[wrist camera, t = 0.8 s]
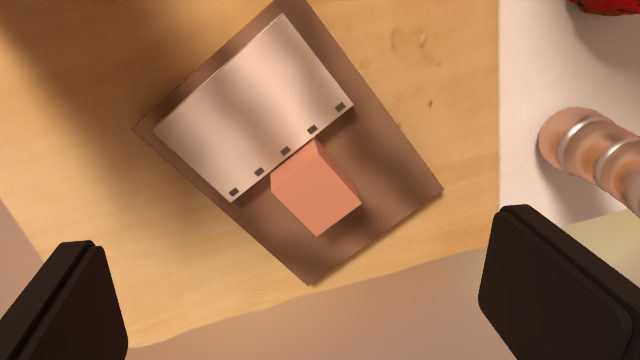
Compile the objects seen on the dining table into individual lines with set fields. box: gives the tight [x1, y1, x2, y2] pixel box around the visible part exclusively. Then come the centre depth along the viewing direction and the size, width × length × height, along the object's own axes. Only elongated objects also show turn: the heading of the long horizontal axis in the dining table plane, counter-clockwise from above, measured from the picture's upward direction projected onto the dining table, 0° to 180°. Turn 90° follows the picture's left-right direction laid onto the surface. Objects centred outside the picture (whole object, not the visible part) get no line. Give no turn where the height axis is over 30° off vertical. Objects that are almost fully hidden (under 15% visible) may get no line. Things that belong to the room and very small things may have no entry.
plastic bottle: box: [538, 107, 640, 218], centre depth 33 cm, size 6×7×20 cm
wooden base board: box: [132, 0, 444, 286], centre depth 38 cm, size 18×24×4 cm
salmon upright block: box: [270, 136, 362, 237], centre depth 36 cm, size 5×6×5 cm
